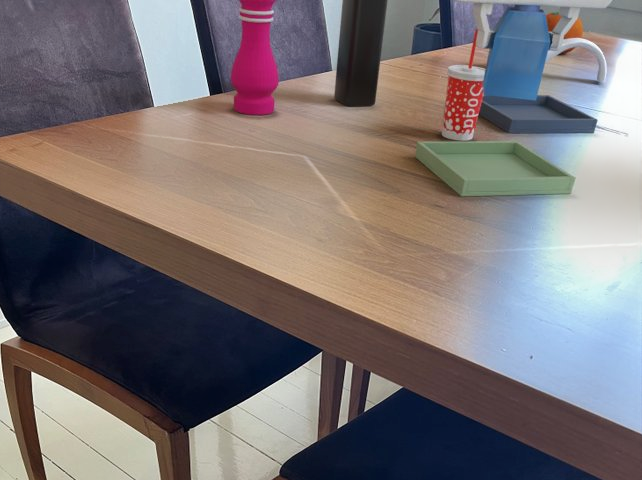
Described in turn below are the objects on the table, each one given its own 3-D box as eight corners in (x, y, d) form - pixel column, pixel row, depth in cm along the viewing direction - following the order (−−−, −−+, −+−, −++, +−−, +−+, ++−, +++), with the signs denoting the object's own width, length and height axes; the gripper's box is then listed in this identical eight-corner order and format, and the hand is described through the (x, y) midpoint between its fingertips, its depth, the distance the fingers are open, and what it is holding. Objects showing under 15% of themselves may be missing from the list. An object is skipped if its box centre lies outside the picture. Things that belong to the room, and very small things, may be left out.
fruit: (575, 51, 175) (585, 12, 170) (578, 59, 167) (589, 19, 162) (530, 45, 176) (539, 7, 171) (531, 53, 168) (540, 13, 163)
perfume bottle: (535, 100, 87) (564, -19, 79) (483, 94, 87) (507, -24, 80) (532, 89, 92) (559, -25, 84) (482, 83, 92) (505, -30, 85)
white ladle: (485, 74, 146) (493, 34, 141) (485, 63, 155) (493, 25, 150) (606, 89, 143) (618, 48, 139) (599, 77, 152) (610, 38, 148)
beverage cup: (443, 141, 106) (463, 32, 98) (431, 129, 111) (449, 24, 102) (483, 142, 107) (506, 34, 99) (469, 130, 112) (490, 26, 103)
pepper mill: (237, 101, 116) (239, -51, 103) (282, 107, 115) (289, -46, 103) (224, 112, 110) (224, -47, 98) (271, 118, 109) (277, -42, 97)
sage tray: (514, 155, 103) (517, 140, 102) (571, 193, 92) (575, 177, 91) (414, 156, 100) (417, 141, 98) (461, 196, 88) (464, 179, 87)
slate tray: (545, 107, 128) (549, 95, 126) (594, 132, 116) (598, 119, 115) (466, 107, 124) (469, 94, 123) (508, 133, 112) (511, 119, 111)
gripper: (475, -102, 73) (448, 52, 82) (648, -88, 78) (606, 56, 87) (449, -106, 78) (427, 41, 86) (614, -92, 83) (577, 45, 91)
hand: (518, 49), depth 87 cm, fingers closed on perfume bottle, 7 cm apart
